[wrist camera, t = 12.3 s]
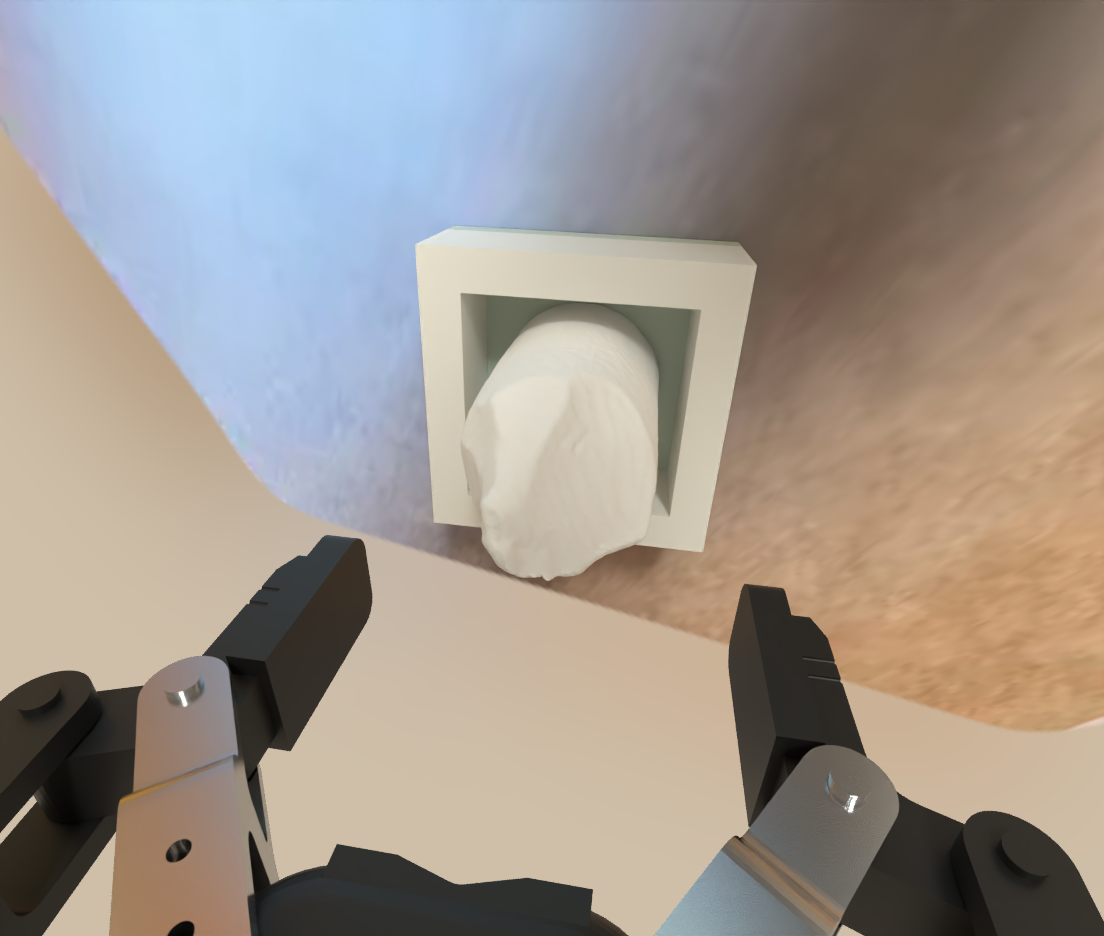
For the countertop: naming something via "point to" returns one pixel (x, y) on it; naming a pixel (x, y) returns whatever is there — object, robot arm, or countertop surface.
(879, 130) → the countertop surface
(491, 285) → the socket
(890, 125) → the countertop surface
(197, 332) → the countertop surface
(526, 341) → the roll
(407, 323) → the countertop surface
